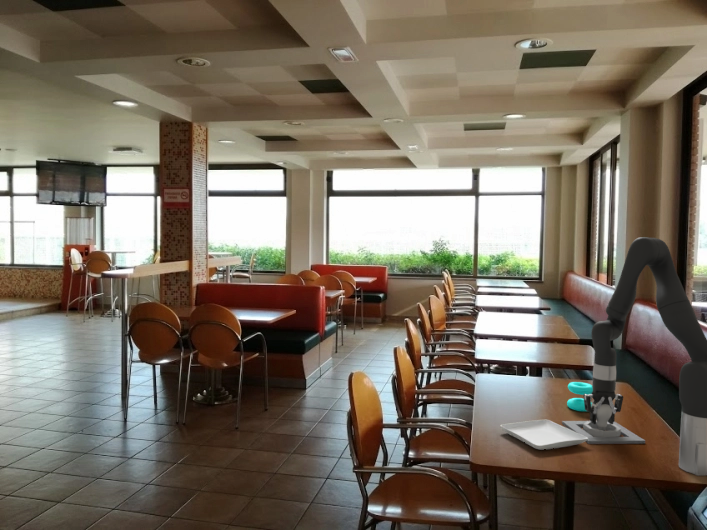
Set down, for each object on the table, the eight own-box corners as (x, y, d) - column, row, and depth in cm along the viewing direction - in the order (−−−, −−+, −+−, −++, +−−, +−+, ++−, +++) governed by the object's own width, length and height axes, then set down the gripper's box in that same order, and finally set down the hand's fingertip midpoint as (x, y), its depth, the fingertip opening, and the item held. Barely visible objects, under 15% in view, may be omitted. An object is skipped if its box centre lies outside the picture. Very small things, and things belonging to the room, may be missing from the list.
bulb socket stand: (645, 443, 190) (645, 436, 190) (588, 443, 189) (588, 436, 188) (613, 423, 210) (613, 416, 210) (561, 423, 208) (562, 417, 208)
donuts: (571, 387, 223) (564, 380, 233) (570, 411, 223) (563, 404, 233) (597, 388, 222) (589, 381, 232) (596, 413, 222) (588, 405, 232)
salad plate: (497, 433, 198) (498, 423, 198) (546, 427, 205) (547, 417, 205) (537, 455, 178) (537, 445, 178) (589, 448, 186) (590, 438, 185)
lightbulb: (613, 436, 196) (614, 405, 195) (594, 435, 197) (595, 404, 196) (608, 430, 202) (609, 400, 201) (590, 429, 203) (591, 399, 202)
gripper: (590, 379, 194) (588, 427, 195) (629, 379, 195) (627, 426, 196) (579, 374, 201) (577, 420, 202) (617, 374, 203) (615, 419, 204)
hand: (602, 423), depth 199 cm, fingers closed on lightbulb, 5 cm apart
